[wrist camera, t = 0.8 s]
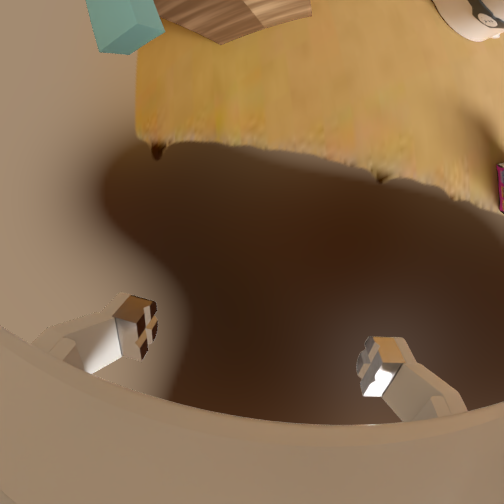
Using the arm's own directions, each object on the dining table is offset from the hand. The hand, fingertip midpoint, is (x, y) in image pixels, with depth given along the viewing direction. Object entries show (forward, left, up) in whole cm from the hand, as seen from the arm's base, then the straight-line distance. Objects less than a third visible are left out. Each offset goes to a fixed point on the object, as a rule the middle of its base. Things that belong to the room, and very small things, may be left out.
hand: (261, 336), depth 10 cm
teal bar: (-21, -19, -9) cm, 30 cm away
